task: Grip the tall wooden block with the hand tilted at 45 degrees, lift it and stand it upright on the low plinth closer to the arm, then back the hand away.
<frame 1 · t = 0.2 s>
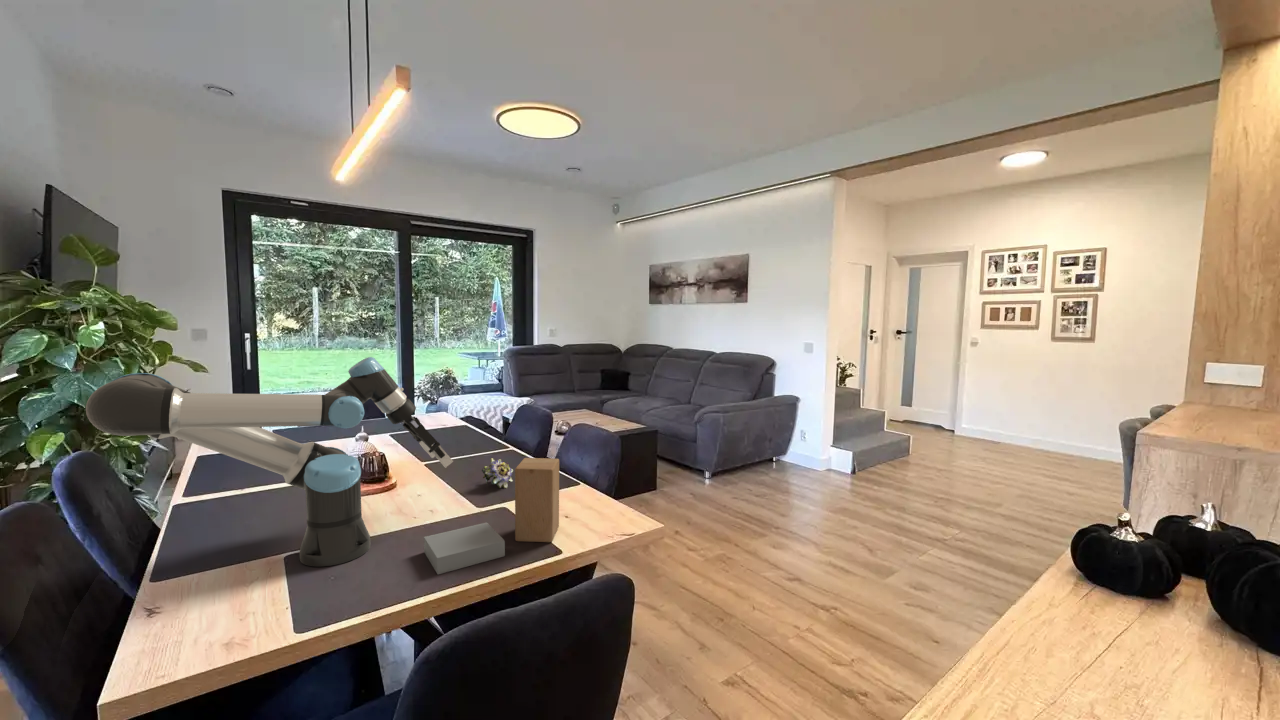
hand: (442, 459, 151), 16 cm above the table, tool tilted 35°, fingers open, 13 cm apart
plinth: (464, 554, 126), on the table
passion flower: (496, 486, 175), on the table
wooden block: (537, 534, 138), on the table
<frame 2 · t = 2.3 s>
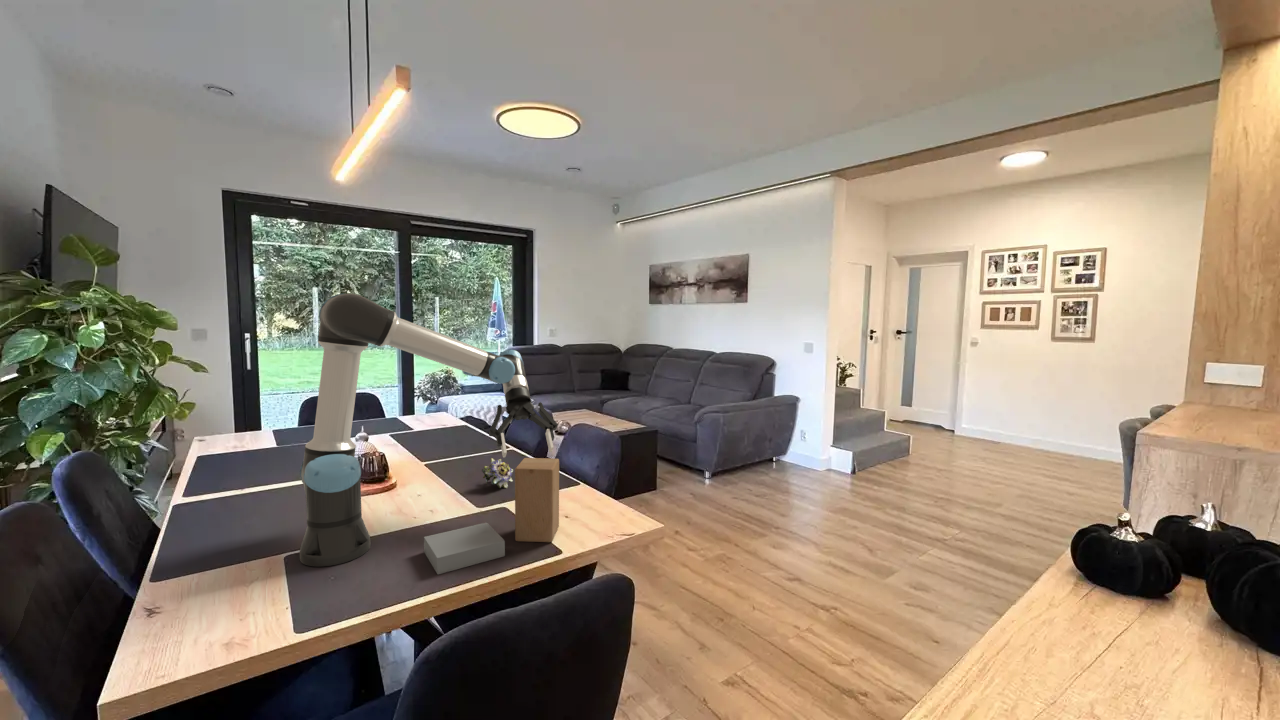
hand: (528, 452, 146), 20 cm above the table, tool tilted 45°, fingers open, 13 cm apart
nothing on the table moved.
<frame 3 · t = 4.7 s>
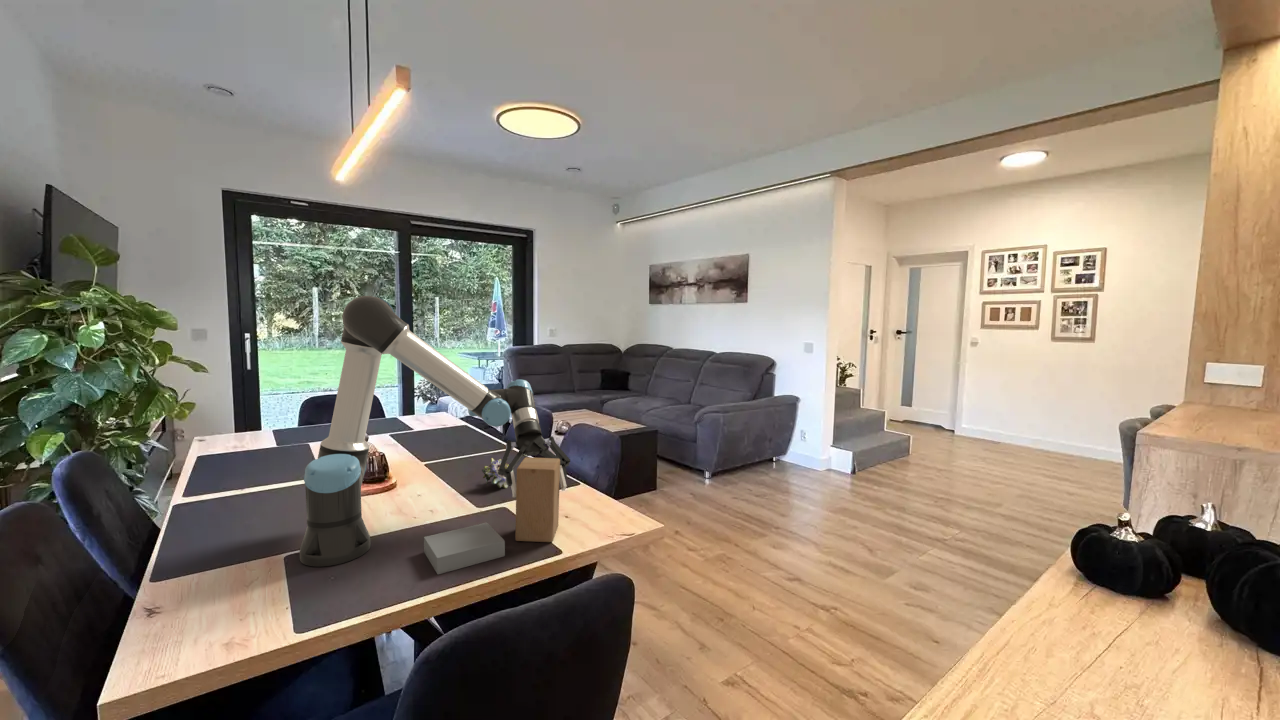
hand: (540, 492, 138), 12 cm above the table, tool tilted 45°, fingers open, 13 cm apart
wooden block: (537, 534, 138), on the table, touching gripper
everything else where it was.
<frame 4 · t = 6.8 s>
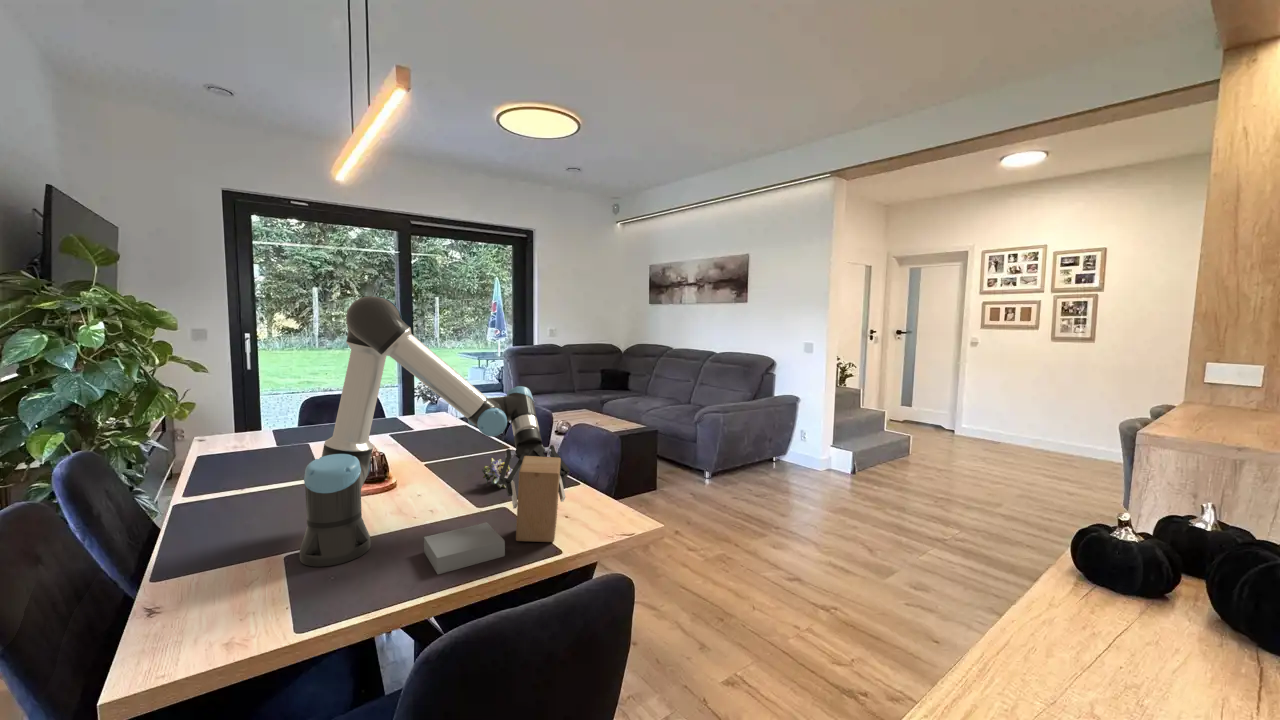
hand: (539, 502, 135), 10 cm above the table, tool tilted 45°, fingers closed on wooden block, 12 cm apart
wooden block: (536, 532, 137), point 1 cm above the table, touching gripper
everything else where it was.
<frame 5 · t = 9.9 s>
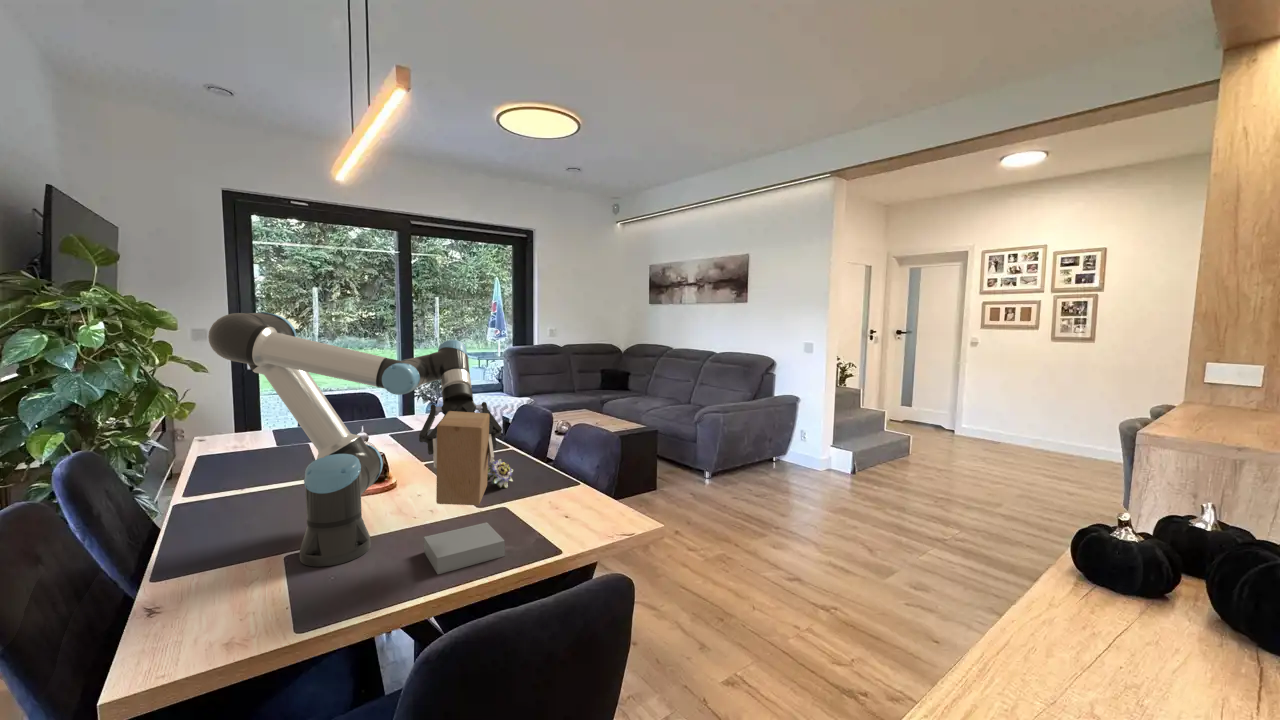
hand: (464, 462, 122), 24 cm above the table, tool tilted 45°, fingers closed on wooden block, 12 cm apart
wooden block: (462, 495, 124), point 15 cm above the table, touching gripper
everything else where it was.
when the fingers open (15 cm above the table, at t = 12.8 s): wooden block drops 2 cm, resting on plinth.
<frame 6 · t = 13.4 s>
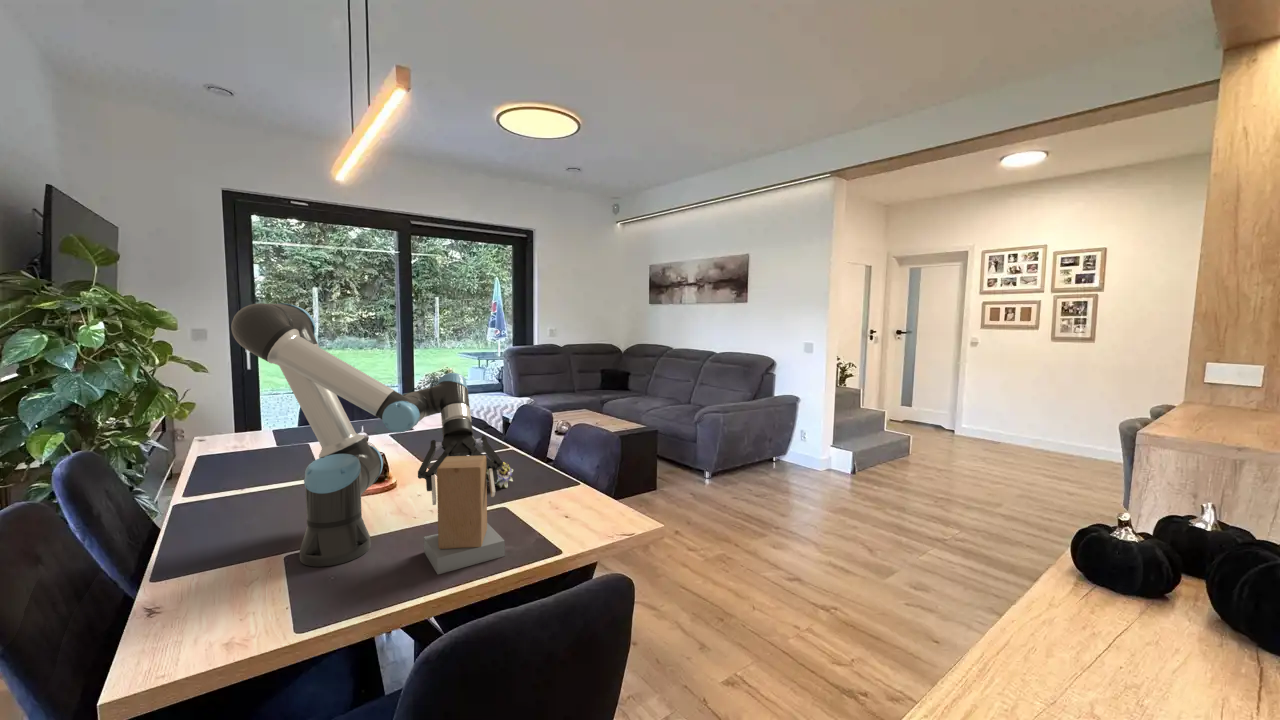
hand: (464, 498, 123), 15 cm above the table, tool tilted 45°, fingers open, 13 cm apart
wooden block: (463, 540, 125), point 4 cm above the table, touching plinth
everything else where it was.
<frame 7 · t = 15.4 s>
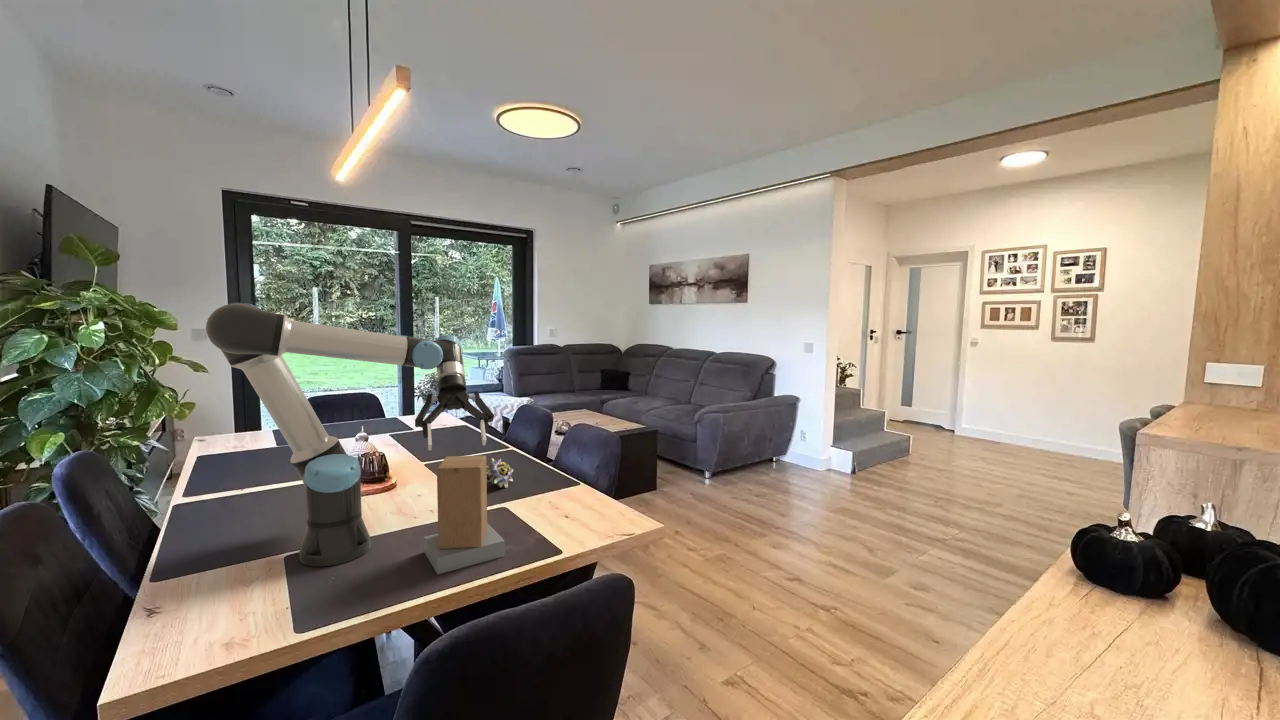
hand: (458, 445, 133), 25 cm above the table, tool tilted 45°, fingers open, 13 cm apart
nothing on the table moved.
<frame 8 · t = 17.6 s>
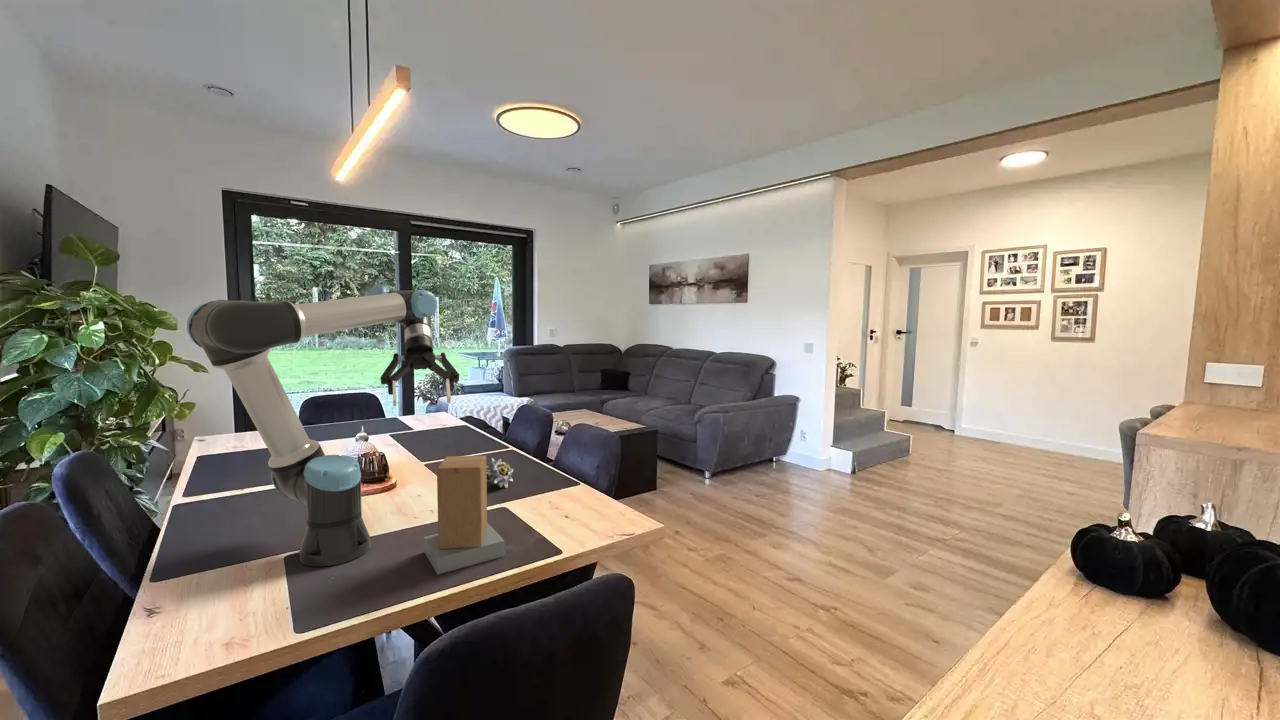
hand: (422, 401, 137), 36 cm above the table, tool tilted 45°, fingers open, 13 cm apart
nothing on the table moved.
at the end: wooden block inside the target area on the plinth (0.4 cm from its centre), point 3.8 cm above the plinth's base; wooden block tilted 0°; the gripper is holding nothing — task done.
